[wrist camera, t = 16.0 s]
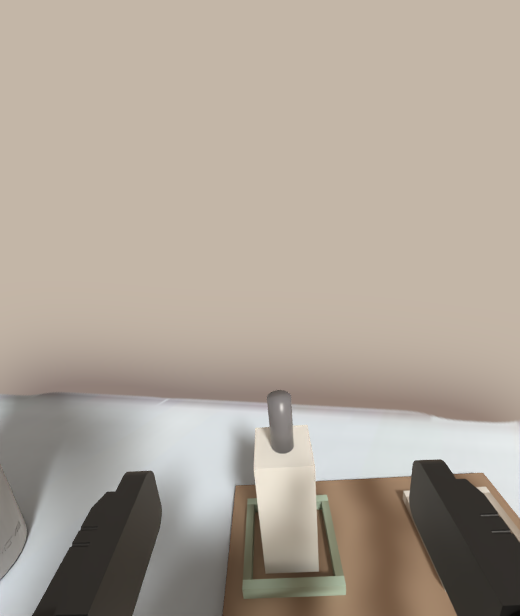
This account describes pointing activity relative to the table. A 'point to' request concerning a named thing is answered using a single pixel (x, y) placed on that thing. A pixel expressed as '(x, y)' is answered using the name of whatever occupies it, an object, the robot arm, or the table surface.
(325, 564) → the walnut port board
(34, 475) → the table surface
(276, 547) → the cream block with handle
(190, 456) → the table surface
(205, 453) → the table surface
